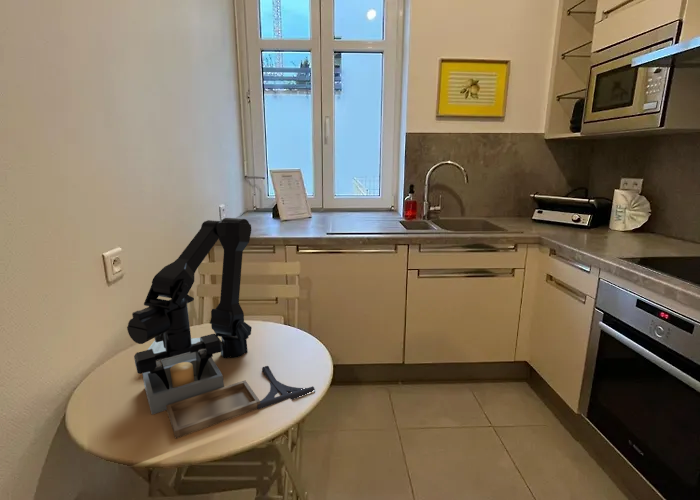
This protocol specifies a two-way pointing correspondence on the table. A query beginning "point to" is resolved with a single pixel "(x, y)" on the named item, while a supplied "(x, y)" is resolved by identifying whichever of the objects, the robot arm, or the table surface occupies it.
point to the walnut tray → (211, 408)
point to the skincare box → (159, 348)
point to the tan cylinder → (182, 374)
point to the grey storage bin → (163, 396)
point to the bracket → (280, 390)
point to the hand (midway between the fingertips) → (183, 384)
